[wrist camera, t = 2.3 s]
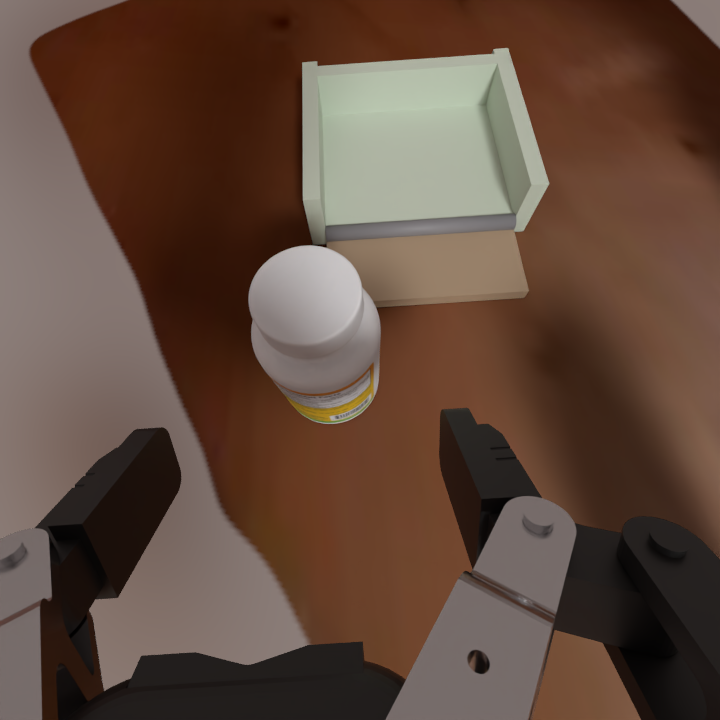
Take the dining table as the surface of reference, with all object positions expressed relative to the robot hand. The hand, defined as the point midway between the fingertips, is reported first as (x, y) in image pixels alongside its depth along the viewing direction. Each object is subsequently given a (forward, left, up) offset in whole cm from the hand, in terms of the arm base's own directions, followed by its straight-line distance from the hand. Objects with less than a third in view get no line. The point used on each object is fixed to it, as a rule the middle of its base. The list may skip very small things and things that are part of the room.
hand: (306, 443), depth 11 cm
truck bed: (-6, -18, -10) cm, 21 cm away
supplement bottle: (0, -5, -10) cm, 11 cm away
